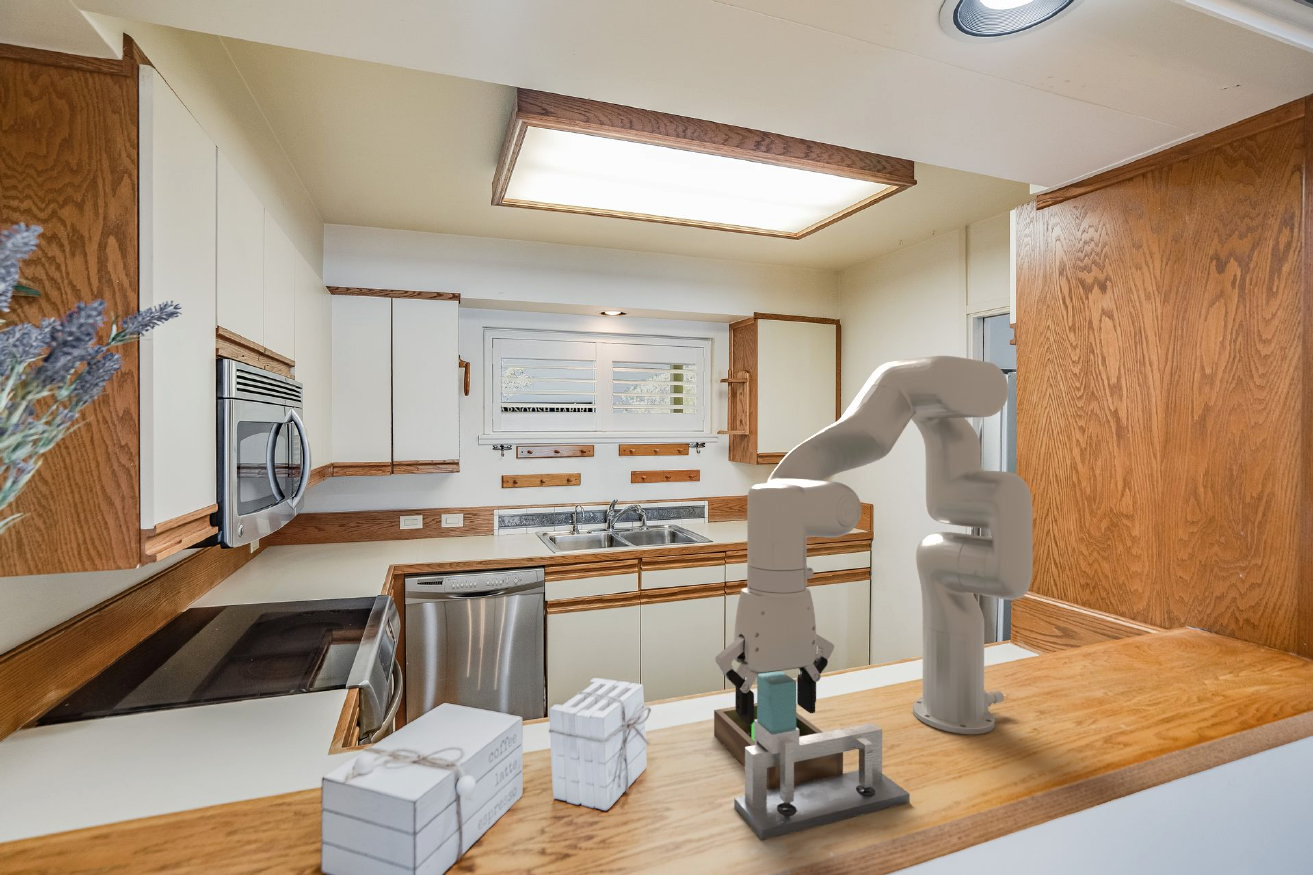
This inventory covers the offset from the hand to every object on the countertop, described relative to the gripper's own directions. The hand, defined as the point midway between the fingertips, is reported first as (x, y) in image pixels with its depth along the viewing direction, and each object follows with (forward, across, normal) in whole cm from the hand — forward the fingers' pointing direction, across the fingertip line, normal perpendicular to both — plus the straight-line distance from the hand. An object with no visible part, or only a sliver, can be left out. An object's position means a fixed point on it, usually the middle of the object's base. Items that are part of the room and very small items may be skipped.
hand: (776, 713), depth 79 cm
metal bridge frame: (+12, -6, +1) cm, 14 cm away
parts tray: (+12, -7, -12) cm, 18 cm away
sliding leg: (+10, 0, 0) cm, 10 cm away
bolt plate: (+12, -6, +2) cm, 14 cm away
